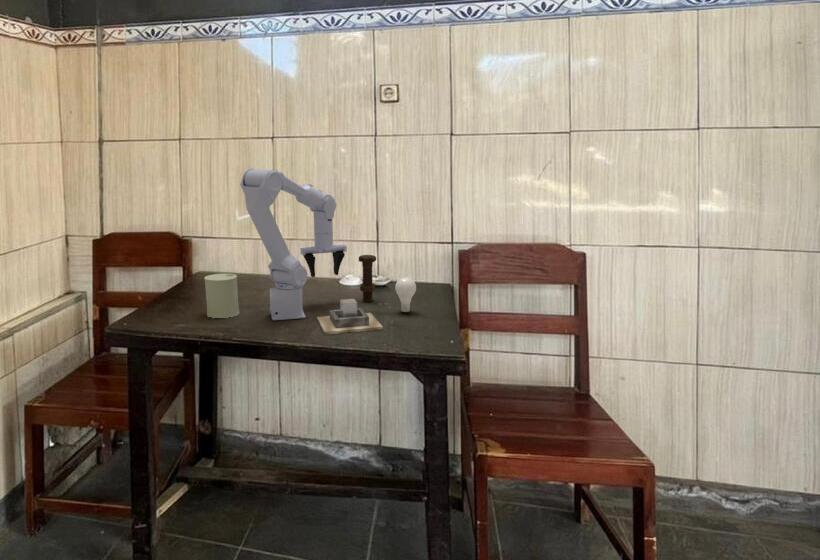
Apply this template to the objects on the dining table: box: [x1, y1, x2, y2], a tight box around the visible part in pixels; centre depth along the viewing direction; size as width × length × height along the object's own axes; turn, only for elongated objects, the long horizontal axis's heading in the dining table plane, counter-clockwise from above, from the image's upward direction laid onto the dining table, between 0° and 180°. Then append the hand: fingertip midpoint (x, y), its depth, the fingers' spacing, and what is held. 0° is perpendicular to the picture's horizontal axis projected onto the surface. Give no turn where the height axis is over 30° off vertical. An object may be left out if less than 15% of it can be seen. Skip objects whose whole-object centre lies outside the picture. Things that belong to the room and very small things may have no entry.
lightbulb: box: [394, 276, 417, 314], centre depth 163 cm, size 6×6×11 cm
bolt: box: [358, 254, 377, 303], centre depth 175 cm, size 6×5×15 cm
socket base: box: [316, 307, 384, 336], centre depth 152 cm, size 16×14×3 cm
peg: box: [339, 298, 358, 318], centre depth 152 cm, size 4×4×6 cm
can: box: [204, 273, 240, 319], centre depth 159 cm, size 9×9×12 cm
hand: (324, 275), depth 171 cm, fingers open, 7 cm apart
